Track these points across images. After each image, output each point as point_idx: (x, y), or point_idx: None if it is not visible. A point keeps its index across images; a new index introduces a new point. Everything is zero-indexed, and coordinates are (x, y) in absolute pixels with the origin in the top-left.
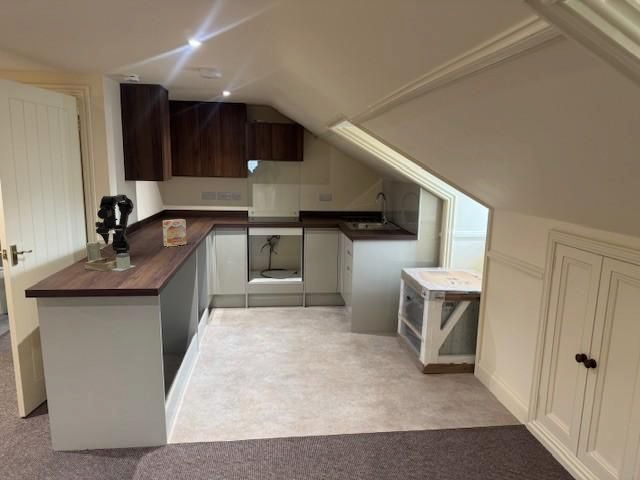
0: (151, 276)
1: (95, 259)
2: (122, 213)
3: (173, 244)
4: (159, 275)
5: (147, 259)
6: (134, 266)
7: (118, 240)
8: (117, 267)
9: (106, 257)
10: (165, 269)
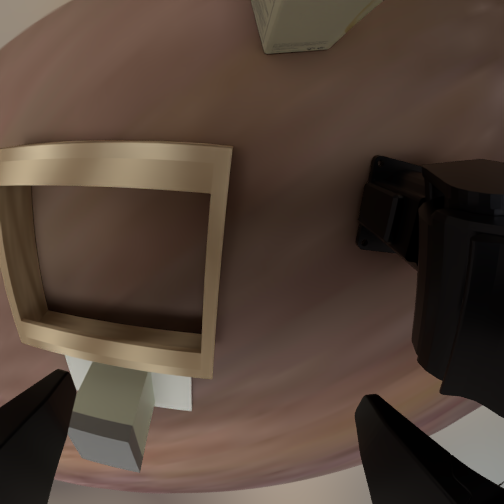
0: (95, 470)
1: (261, 23)
2: None
3: None
4: (116, 481)
5: (396, 363)
6: (183, 408)
7: (359, 434)
8: (94, 362)
9: (217, 183)
10: (191, 484)
